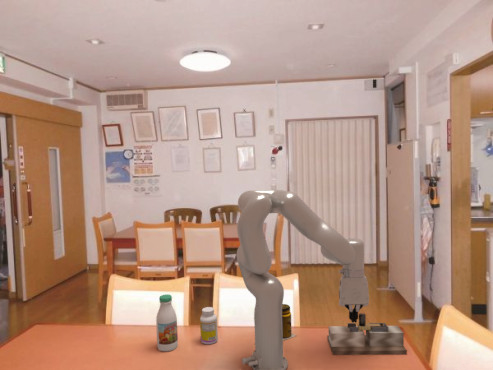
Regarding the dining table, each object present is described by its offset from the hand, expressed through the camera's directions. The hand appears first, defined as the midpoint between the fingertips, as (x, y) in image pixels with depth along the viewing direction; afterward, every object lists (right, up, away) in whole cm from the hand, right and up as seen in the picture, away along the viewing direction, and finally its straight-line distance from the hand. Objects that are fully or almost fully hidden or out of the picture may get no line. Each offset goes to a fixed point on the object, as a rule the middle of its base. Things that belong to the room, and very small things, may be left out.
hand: (353, 320), depth 140 cm
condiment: (-26, -10, +11) cm, 30 cm away
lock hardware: (+5, -3, 0) cm, 6 cm away
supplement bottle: (-54, -11, +8) cm, 56 cm away
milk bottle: (-70, -12, +4) cm, 71 cm away
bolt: (+6, -3, 0) cm, 6 cm away
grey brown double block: (+4, -10, 0) cm, 11 cm away
